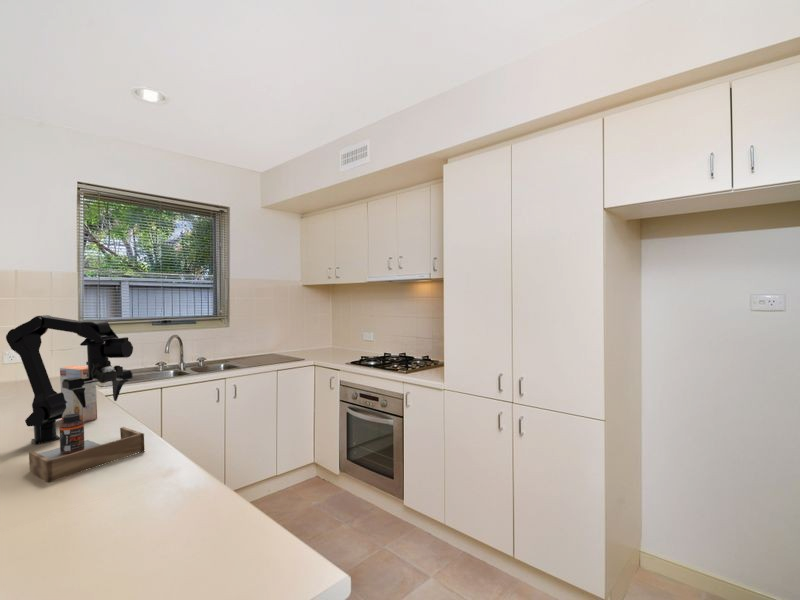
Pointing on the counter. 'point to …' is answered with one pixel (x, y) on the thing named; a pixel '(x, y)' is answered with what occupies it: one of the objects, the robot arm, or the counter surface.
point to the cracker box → (72, 401)
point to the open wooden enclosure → (86, 457)
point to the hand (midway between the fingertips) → (100, 404)
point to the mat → (56, 453)
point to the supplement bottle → (71, 434)
